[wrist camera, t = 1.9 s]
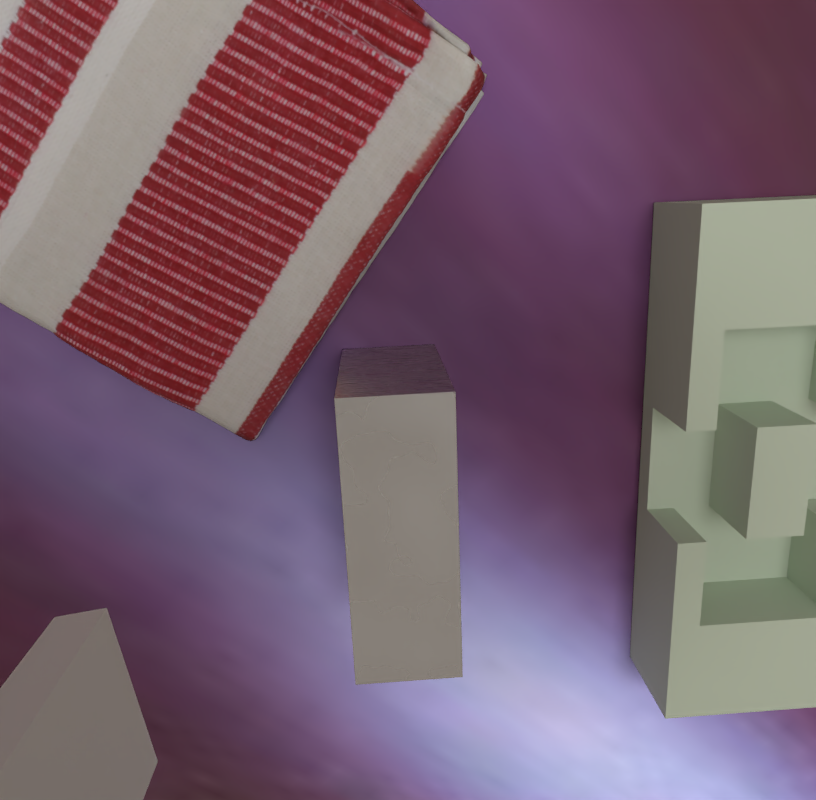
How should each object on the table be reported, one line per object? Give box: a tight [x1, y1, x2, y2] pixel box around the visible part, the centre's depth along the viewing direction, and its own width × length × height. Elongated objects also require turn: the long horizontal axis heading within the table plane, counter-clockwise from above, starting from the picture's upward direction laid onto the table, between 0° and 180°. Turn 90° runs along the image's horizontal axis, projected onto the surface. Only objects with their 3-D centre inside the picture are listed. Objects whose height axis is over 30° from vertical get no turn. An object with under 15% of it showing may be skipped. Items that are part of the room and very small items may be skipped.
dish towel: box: [0, 0, 487, 441], centre depth 24 cm, size 17×23×3 cm
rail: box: [630, 195, 816, 718], centre depth 28 cm, size 20×7×4 cm, turn 2°
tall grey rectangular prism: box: [334, 344, 462, 685], centre depth 26 cm, size 10×4×7 cm, turn 2°
